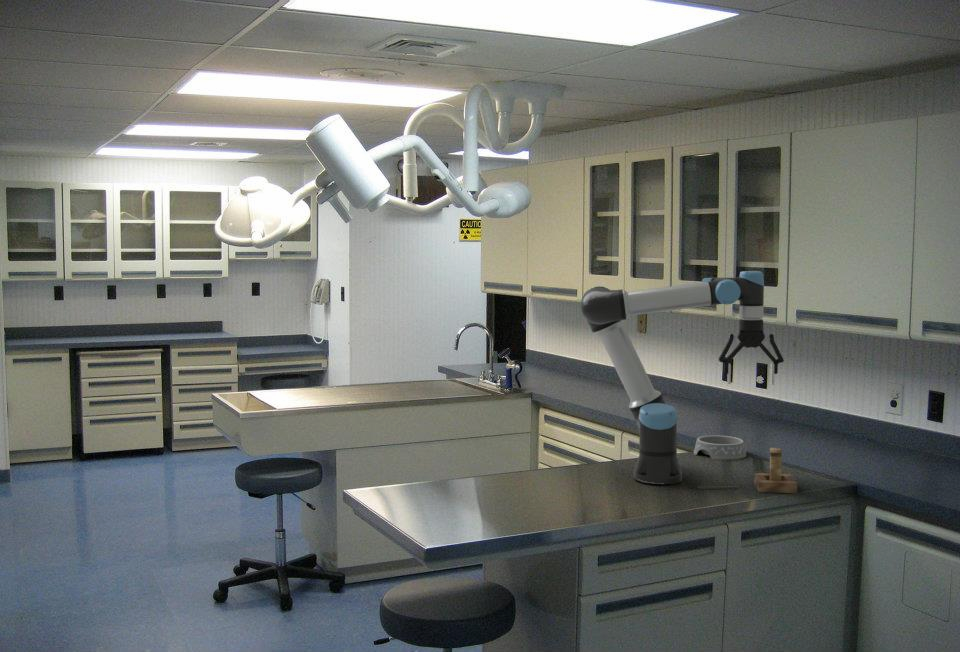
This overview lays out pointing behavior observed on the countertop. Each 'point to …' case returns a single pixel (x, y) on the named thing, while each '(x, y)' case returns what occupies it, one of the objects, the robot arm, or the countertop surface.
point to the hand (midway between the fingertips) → (750, 383)
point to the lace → (720, 487)
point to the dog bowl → (721, 447)
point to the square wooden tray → (775, 483)
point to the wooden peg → (775, 464)
